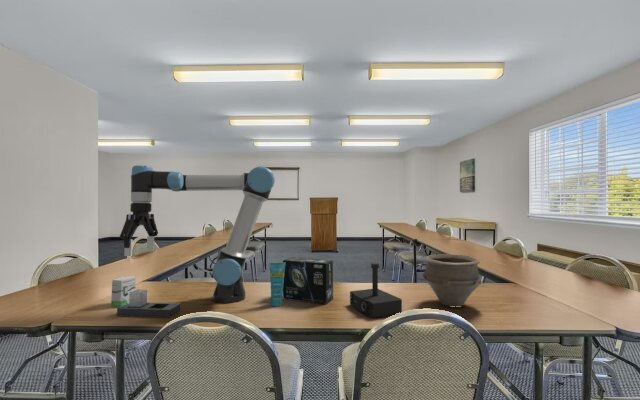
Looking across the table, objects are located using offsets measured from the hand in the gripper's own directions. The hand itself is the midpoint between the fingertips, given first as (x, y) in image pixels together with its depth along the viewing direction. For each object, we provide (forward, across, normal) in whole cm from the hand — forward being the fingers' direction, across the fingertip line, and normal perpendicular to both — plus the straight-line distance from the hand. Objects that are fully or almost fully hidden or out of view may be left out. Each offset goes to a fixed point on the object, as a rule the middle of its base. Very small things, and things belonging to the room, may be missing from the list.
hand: (139, 253), depth 122 cm
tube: (+25, -15, +55) cm, 62 cm away
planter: (+25, -22, +135) cm, 139 cm away
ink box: (+25, -10, -14) cm, 30 cm away
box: (+25, -26, +68) cm, 77 cm away
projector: (+25, -13, +98) cm, 102 cm away
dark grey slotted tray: (+24, 0, +5) cm, 25 cm away
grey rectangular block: (+24, 0, 0) cm, 24 cm away
